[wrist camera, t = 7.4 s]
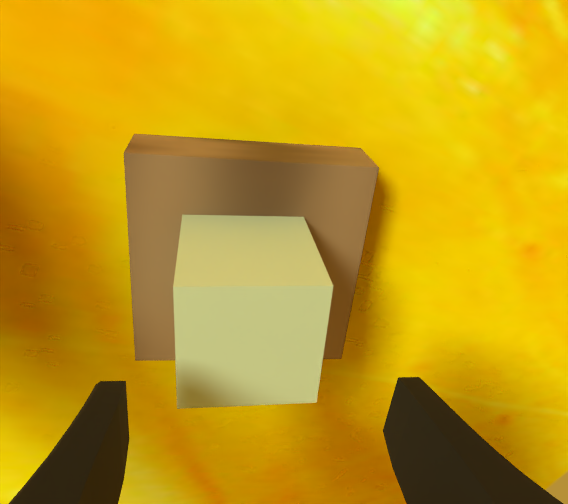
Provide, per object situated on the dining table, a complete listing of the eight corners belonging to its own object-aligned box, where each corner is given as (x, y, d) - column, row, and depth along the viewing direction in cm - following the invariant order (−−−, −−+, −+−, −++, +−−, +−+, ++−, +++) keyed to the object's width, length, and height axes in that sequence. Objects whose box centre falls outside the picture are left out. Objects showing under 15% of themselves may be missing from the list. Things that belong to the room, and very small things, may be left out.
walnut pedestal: (144, 318, 23) (135, 360, 20) (136, 130, 19) (123, 152, 16) (327, 319, 24) (341, 358, 22) (357, 144, 20) (378, 167, 18)
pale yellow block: (184, 316, 20) (177, 408, 15) (182, 214, 18) (173, 286, 13) (293, 315, 20) (316, 402, 16) (303, 216, 18) (333, 285, 14)
